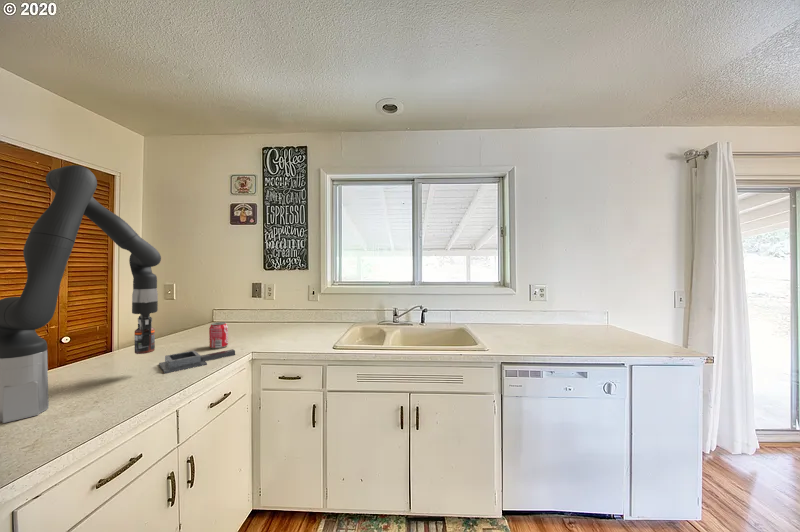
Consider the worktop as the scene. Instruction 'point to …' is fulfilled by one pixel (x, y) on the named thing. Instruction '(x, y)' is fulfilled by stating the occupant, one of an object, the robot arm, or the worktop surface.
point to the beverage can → (218, 335)
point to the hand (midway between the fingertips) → (144, 344)
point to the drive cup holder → (190, 360)
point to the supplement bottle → (138, 342)
